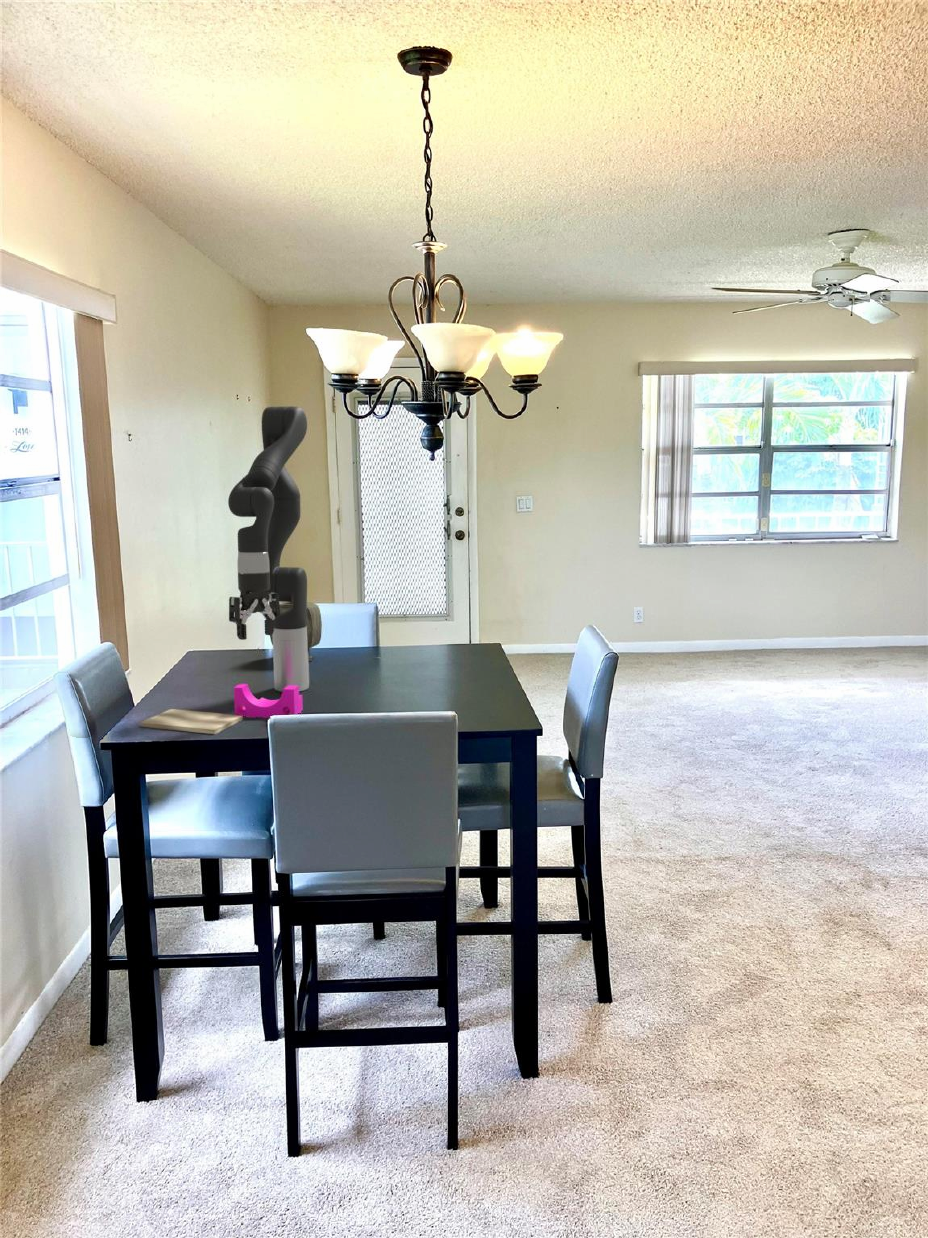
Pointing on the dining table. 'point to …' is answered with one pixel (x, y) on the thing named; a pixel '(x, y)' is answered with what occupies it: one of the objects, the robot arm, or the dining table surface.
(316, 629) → the tabletop clock
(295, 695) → the magenta cradle block
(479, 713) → the dining table surface
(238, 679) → the dining table surface
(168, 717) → the oak board
